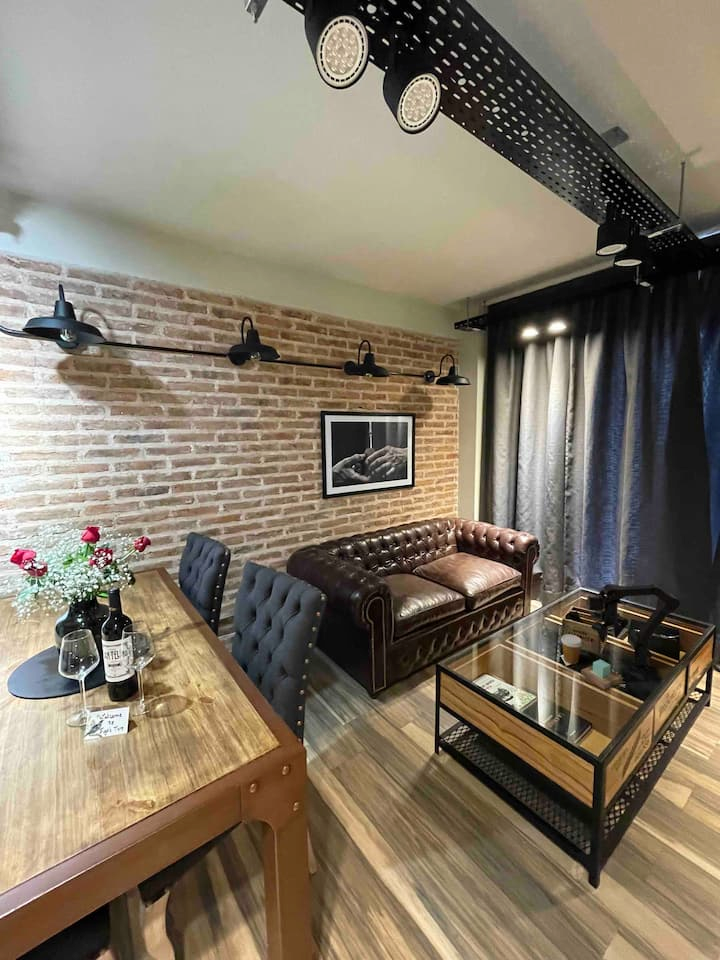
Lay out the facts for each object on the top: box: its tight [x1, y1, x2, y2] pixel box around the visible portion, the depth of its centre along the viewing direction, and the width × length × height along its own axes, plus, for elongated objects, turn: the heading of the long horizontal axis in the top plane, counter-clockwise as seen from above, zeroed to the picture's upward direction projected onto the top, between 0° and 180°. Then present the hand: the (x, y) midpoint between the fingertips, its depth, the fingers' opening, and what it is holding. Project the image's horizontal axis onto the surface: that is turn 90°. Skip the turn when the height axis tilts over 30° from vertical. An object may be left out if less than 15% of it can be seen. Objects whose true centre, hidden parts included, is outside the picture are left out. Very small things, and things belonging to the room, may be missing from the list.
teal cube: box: [592, 659, 612, 678], centre depth 189 cm, size 5×5×5 cm
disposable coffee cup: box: [560, 633, 583, 665], centre depth 203 cm, size 10×10×12 cm
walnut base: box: [580, 664, 624, 691], centre depth 189 cm, size 12×12×2 cm
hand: (609, 639), depth 199 cm, fingers open, 9 cm apart
